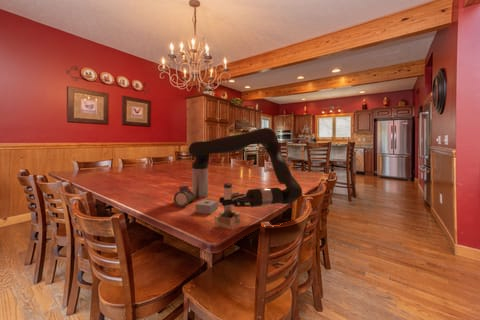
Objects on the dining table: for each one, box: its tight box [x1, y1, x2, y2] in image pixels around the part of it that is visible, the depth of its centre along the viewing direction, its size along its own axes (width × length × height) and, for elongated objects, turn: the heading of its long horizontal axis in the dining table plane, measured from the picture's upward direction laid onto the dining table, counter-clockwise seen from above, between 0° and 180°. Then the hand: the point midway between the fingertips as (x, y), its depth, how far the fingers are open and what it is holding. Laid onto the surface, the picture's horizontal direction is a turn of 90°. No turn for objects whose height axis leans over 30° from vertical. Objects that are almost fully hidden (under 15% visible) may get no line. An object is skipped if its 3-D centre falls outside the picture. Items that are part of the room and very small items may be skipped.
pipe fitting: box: [173, 185, 195, 208], centre depth 115 cm, size 12×8×10 cm
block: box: [194, 199, 219, 215], centre depth 104 cm, size 8×8×4 cm
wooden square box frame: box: [214, 210, 241, 230], centre depth 87 cm, size 8×8×4 cm
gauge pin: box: [223, 182, 233, 218], centre depth 87 cm, size 3×3×16 cm
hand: (221, 201), depth 86 cm, fingers closed on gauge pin, 3 cm apart
